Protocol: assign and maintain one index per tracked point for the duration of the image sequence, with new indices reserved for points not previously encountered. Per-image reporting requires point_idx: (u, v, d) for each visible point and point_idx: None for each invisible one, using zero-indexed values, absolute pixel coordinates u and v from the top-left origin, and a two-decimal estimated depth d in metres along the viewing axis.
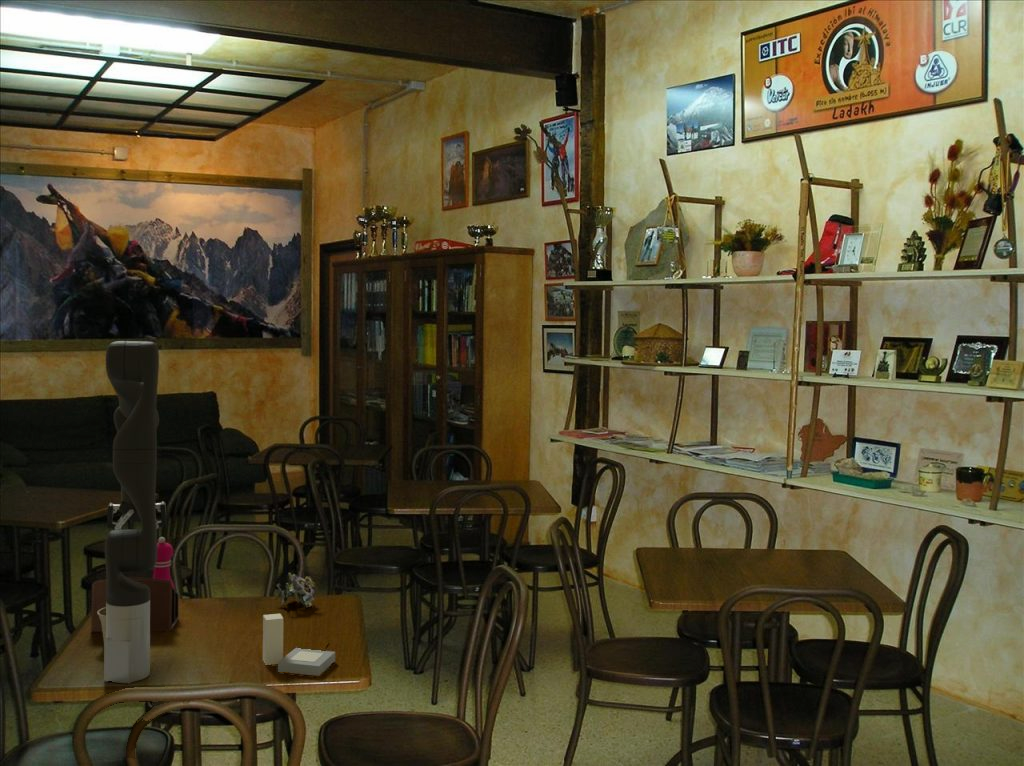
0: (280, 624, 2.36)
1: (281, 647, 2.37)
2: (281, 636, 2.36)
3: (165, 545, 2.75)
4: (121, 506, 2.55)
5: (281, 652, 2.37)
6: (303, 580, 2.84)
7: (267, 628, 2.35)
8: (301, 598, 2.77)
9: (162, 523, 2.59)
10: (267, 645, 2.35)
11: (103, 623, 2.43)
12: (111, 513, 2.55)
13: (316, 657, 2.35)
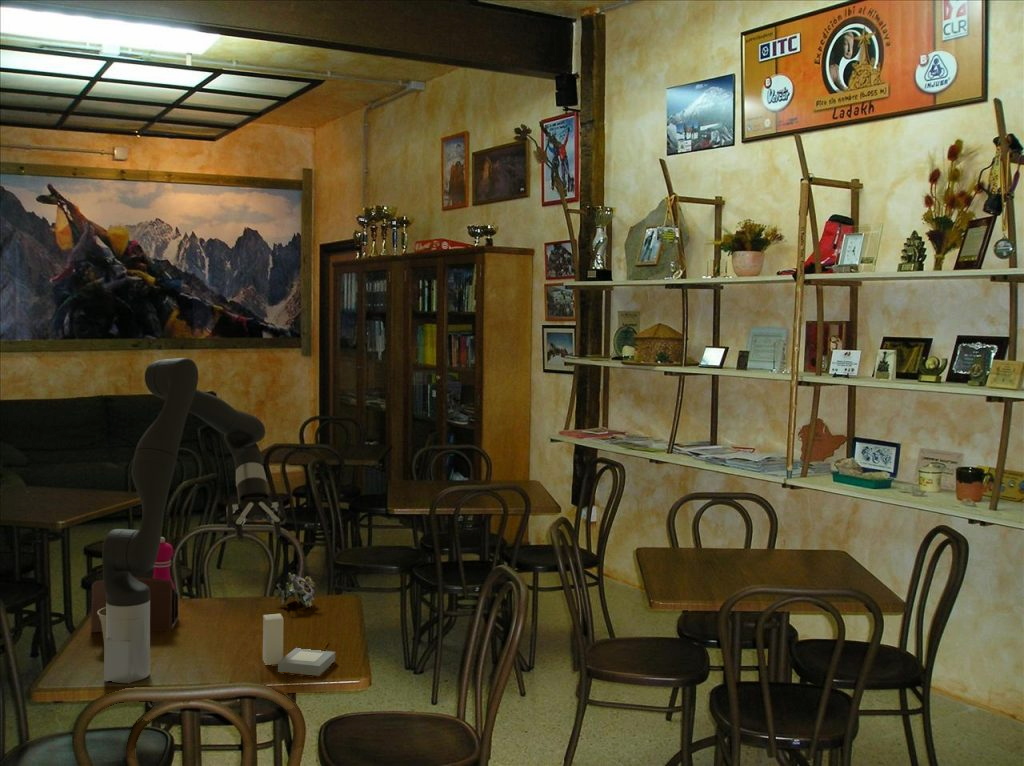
0: (280, 624, 2.36)
1: (281, 647, 2.37)
2: (281, 636, 2.36)
3: (165, 545, 2.75)
4: (240, 503, 2.51)
5: (281, 652, 2.37)
6: (303, 580, 2.84)
7: (267, 628, 2.35)
8: (301, 598, 2.77)
9: (282, 516, 2.52)
10: (267, 645, 2.35)
11: (103, 623, 2.43)
12: (231, 509, 2.49)
13: (316, 657, 2.35)
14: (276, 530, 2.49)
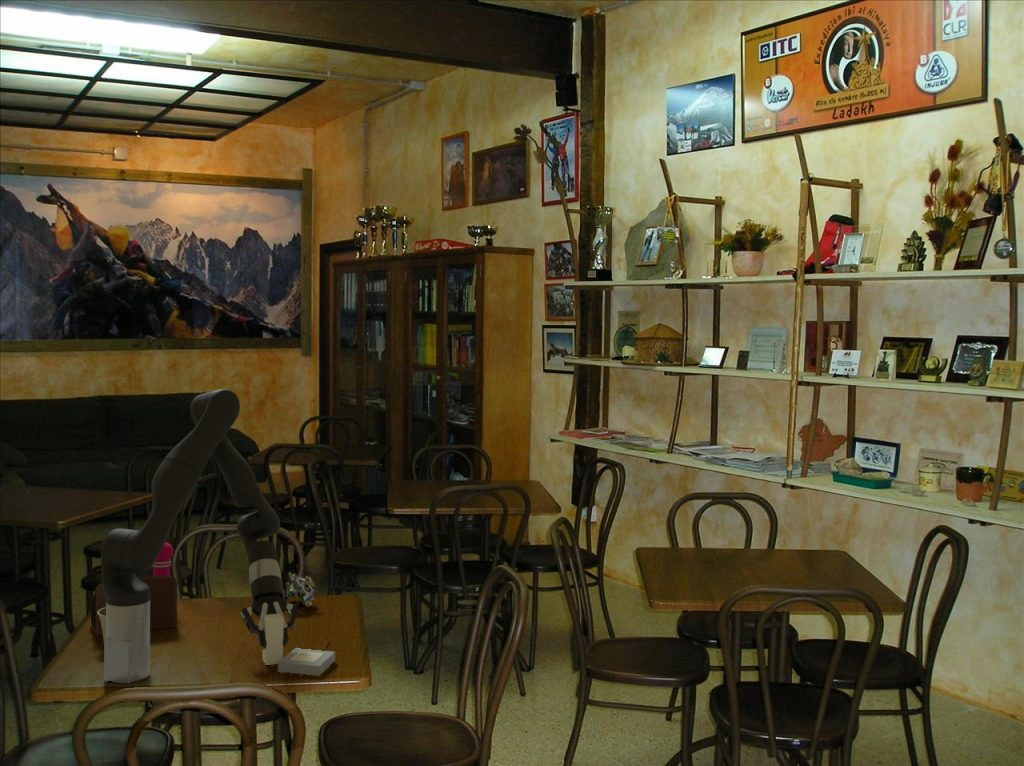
0: (280, 624, 2.36)
1: (281, 647, 2.37)
2: (281, 636, 2.36)
3: (165, 545, 2.75)
4: (253, 604, 2.40)
5: (281, 652, 2.37)
6: (303, 580, 2.84)
7: (267, 628, 2.35)
8: (301, 598, 2.77)
9: (290, 621, 2.40)
10: (267, 645, 2.35)
11: (103, 623, 2.43)
12: (248, 614, 2.38)
13: (316, 657, 2.35)
14: (283, 637, 2.37)
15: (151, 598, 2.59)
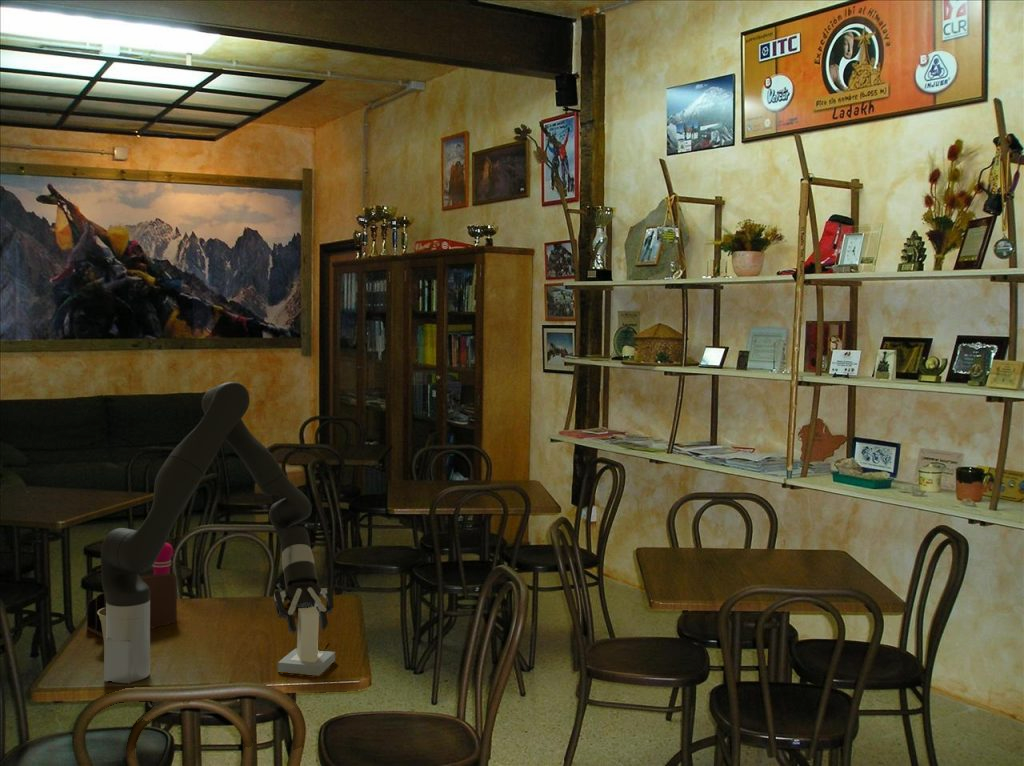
0: (315, 618, 2.32)
1: (316, 641, 2.33)
2: (316, 631, 2.33)
3: (165, 545, 2.75)
4: (287, 589, 2.37)
5: (316, 646, 2.34)
6: None
7: (302, 623, 2.31)
8: None
9: (329, 605, 2.37)
10: (302, 639, 2.32)
11: (103, 623, 2.43)
12: (280, 597, 2.35)
13: None
14: (323, 621, 2.35)
15: (154, 596, 2.61)
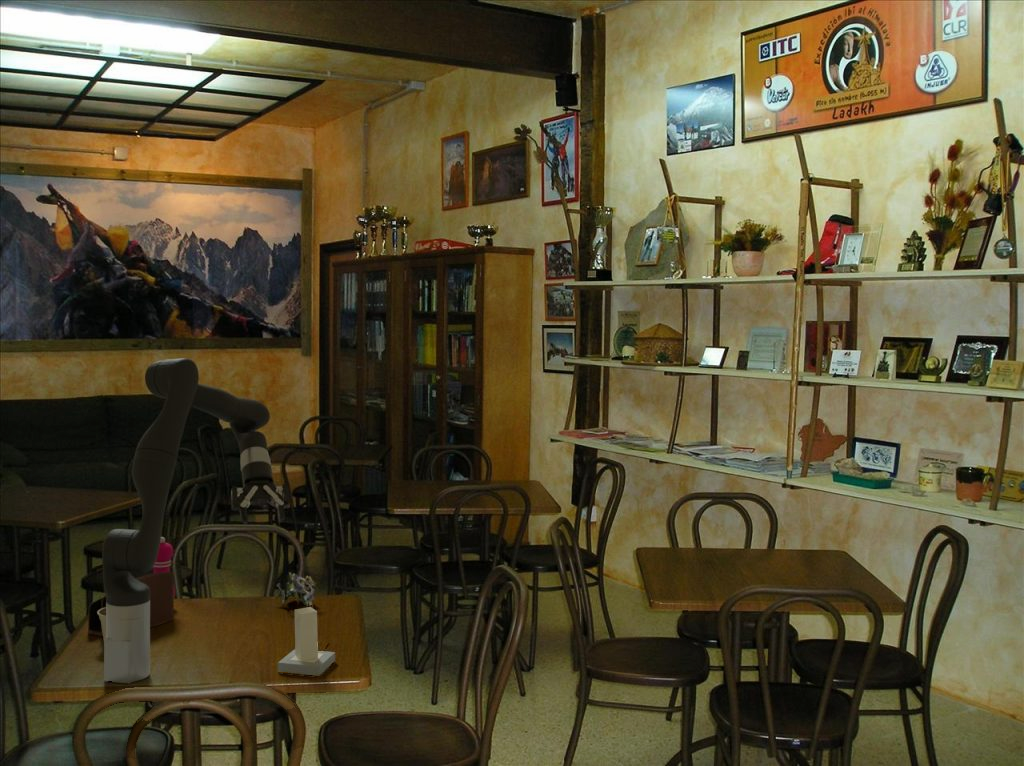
0: (313, 617, 2.33)
1: (316, 640, 2.34)
2: (315, 629, 2.34)
3: (165, 545, 2.75)
4: (244, 486, 2.53)
5: (316, 645, 2.34)
6: (303, 579, 2.84)
7: (302, 622, 2.32)
8: (302, 597, 2.77)
9: (286, 500, 2.54)
10: (302, 639, 2.32)
11: (103, 623, 2.43)
12: (235, 492, 2.51)
13: None
14: (280, 513, 2.51)
15: (155, 595, 2.62)
